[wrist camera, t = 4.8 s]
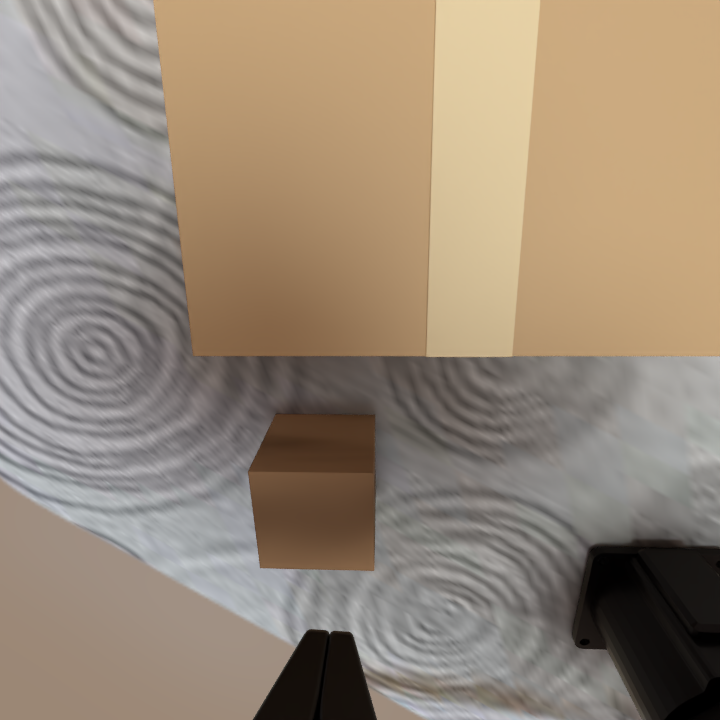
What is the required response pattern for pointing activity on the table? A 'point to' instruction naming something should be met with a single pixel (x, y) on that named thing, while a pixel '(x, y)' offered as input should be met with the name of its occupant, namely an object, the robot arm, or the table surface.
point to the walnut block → (315, 492)
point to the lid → (446, 175)
